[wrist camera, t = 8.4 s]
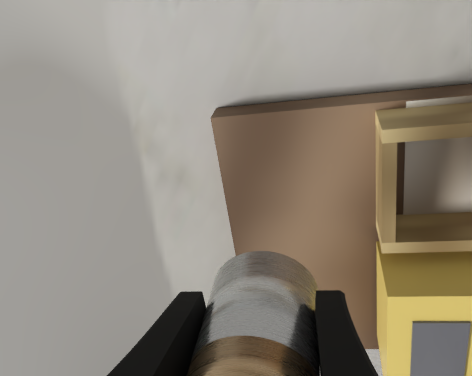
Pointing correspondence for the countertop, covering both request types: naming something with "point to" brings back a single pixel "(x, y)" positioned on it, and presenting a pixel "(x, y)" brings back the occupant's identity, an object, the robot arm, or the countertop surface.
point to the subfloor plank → (350, 183)
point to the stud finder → (424, 313)
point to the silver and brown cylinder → (259, 320)
